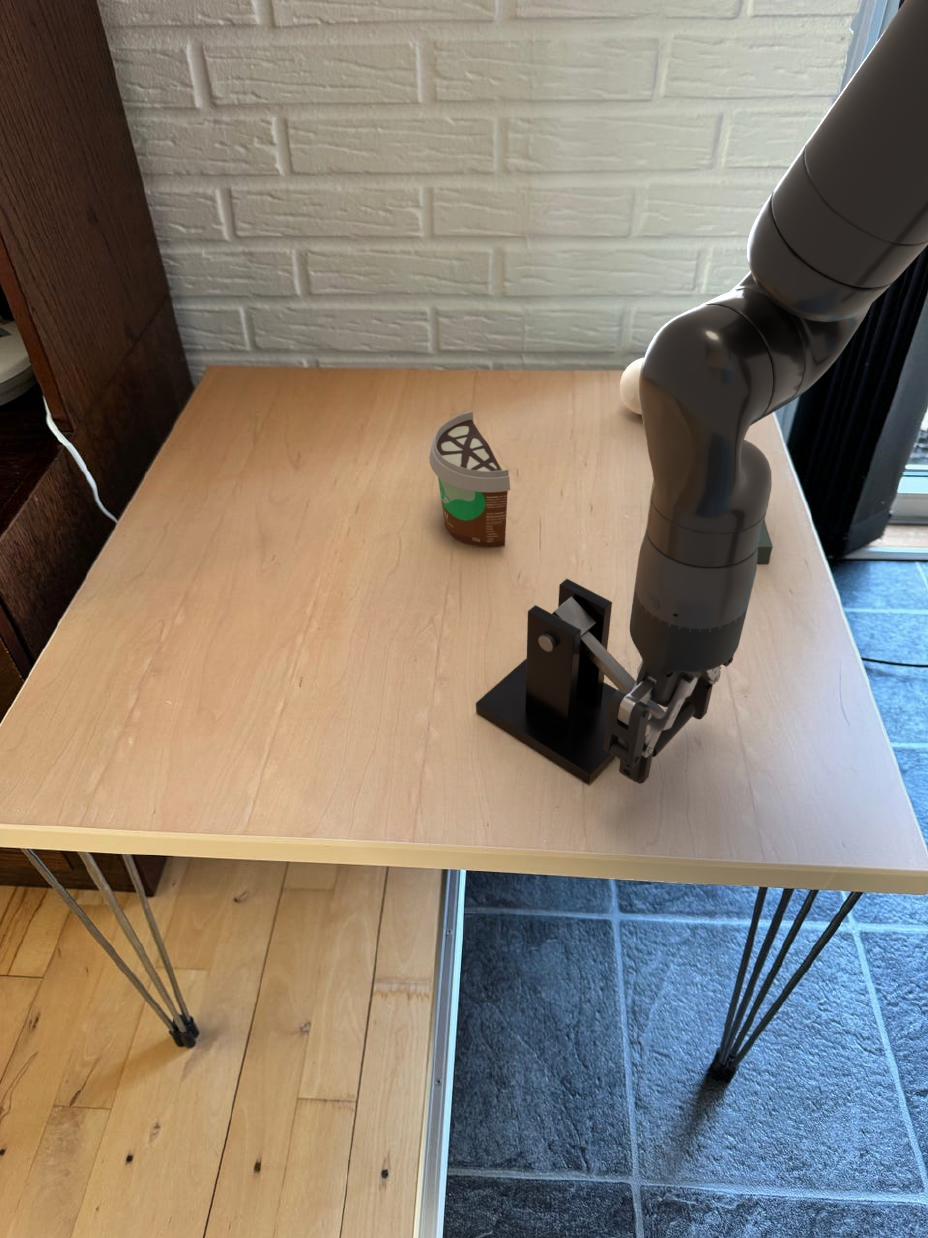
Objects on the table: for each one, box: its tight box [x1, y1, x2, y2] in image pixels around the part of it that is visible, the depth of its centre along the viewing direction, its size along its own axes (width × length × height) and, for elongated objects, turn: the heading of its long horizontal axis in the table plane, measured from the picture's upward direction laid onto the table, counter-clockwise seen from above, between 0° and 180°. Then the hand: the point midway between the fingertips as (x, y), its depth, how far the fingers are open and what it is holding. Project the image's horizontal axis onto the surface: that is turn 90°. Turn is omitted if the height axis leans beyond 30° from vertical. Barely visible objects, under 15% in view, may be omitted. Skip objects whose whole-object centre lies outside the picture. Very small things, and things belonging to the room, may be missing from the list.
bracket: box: [475, 578, 618, 785], centre depth 78 cm, size 12×9×13 cm
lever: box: [551, 597, 695, 758], centre depth 75 cm, size 13×6×2 cm, turn 49°
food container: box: [428, 410, 511, 548], centre depth 99 cm, size 12×6×10 cm, turn 17°
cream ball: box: [619, 357, 644, 416], centre depth 116 cm, size 7×7×7 cm
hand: (663, 742), depth 75 cm, fingers open, 8 cm apart
